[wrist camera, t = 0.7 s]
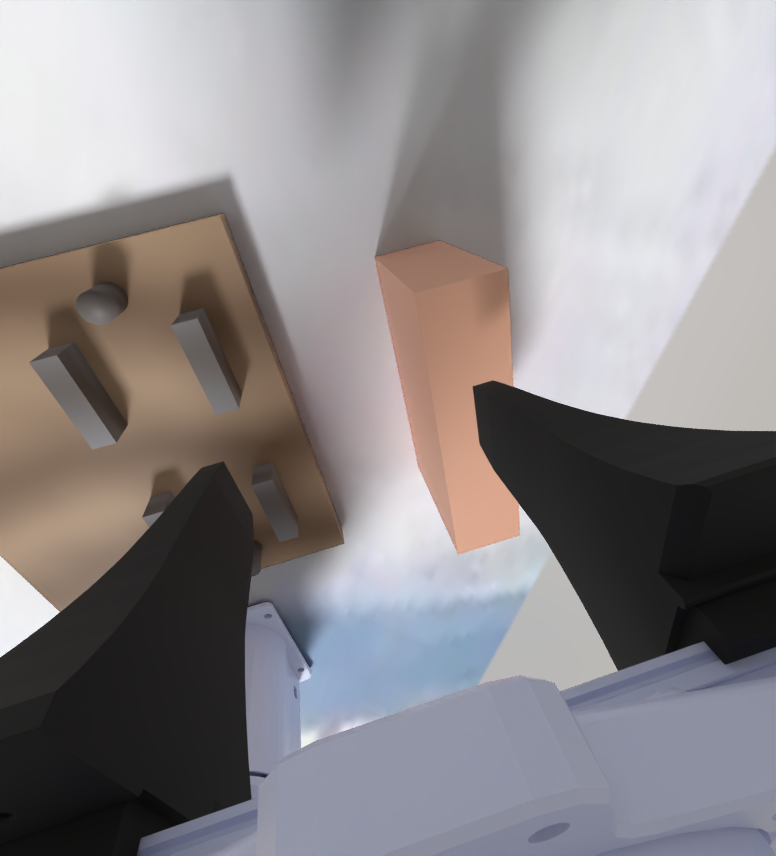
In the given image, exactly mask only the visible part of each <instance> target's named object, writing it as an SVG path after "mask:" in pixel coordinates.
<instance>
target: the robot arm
mask: <svg viewBox="0 0 776 856" xmlns="http://www.w3.org/2000/svg"><path fill="white" fill-rule="evenodd" d="M473 395H474V403H475V411H476V419H477V428H478V436H479V444H480V446H481V448H482V450H483V452H484V454H485V455H486V457H487V459H488V461H489V463H490V464H491V466H492V468H493V470H494V471H495V473H496V474H497V475H498V477H499V478H500V479H501V481H502V482H503V483H504V485H505V486H506V487H507V489H508V490H509V491H510V493H511V494H512V495H513V497H514V498H515V499H516V501H517V502H518V503H519V504H520V506H521V507H522V508H523V510H524V511H525V512H526V514H527V515H528V516H529V518H530V519H531V520H532V522H533V523H534V524H535V526H536V527H537V528H538V530H539V531H540V533H541V534H542V536H543V537H544V538H545V540H546V542H547V543H548V545H549V547H550V548H551V550H552V552H553V553H554V555H555V557H556V558H557V560H558V562H559V563H560V565H561V566H562V568H563V570H564V572H565V574H566V575H567V577H568V579H569V580H570V582H571V584H572V586H573V588H574V589H575V591H576V593H577V595H578V596H579V598H580V600H581V602H582V603H583V605H584V607H585V609H586V610H587V612H588V614H589V616H590V618H591V620H592V622H593V624H594V625H595V627H596V629H597V631H598V633H599V635H600V637H601V638H602V640H603V642H604V644H605V646H606V648H607V650H608V652H609V654H610V656H611V658H612V660H613V662H614V664H615V666H616V668H617V670H618V671H617V672H614V673H611V674H608V675H606V676H603V677H600V678H597V679H594V680H591V681H588V682H586V683H583V684H580V685H577V686H574V687H571V688H568V689H566V690H563V691H559V690H558V688H557V686H556V685H555V684H554V683H552V682H549V681H546V680H542V679H537V678H531V677H525V676H515V677H510V678H505V679H500V680H495V681H490V682H486V683H483V684H480V685H477V686H474V687H471V688H468V689H465V690H462V691H459V692H456V693H454V694H451V695H448V696H445V697H442V698H439V699H436V700H433V701H430V702H427V703H425V704H422V705H419V706H416V707H413V708H410V709H407V710H404V711H401V712H398V713H396V714H393V715H390V716H387V717H384V718H381V719H378V720H375V721H372V722H369V723H367V724H364V725H361V726H358V727H355V728H352V729H349V730H346V731H343V732H340V733H338V734H335V735H332V736H329V737H326V738H323V739H320V740H317V741H315V742H313V743H311V744H309V745H307V746H305V747H303V748H301V730H300V692H299V682H301V681H304V680H307V679H309V678H310V677H311V669H310V668H309V666H308V664H307V662H306V661H305V659H304V657H303V656H302V654H301V652H300V651H299V649H298V647H297V645H296V644H295V642H294V640H293V639H292V637H291V635H290V633H289V632H288V630H287V628H286V627H285V625H284V623H283V621H282V620H281V618H280V616H279V615H278V613H277V611H276V609H275V608H274V606H273V605H272V604H271V603H269V602H264V603H260V604H257V605H254V606H251V607H248V599H249V590H250V581H251V572H252V562H253V552H254V528H253V514H252V512H251V510H250V508H249V507H248V505H247V503H246V501H245V499H244V498H243V496H242V494H241V492H240V490H239V488H238V487H237V485H236V483H235V481H234V479H233V478H232V476H231V474H230V472H229V470H228V468H227V467H226V465H225V463H224V461H222V462H219V463H216V464H212V465H209V466H206V467H202V468H201V469H200V470H199V471H198V472H197V473H196V474H195V475H194V476H193V477H192V478H191V480H190V481H189V482H188V483H187V484H186V485H185V487H184V488H183V489H182V490H181V491H180V493H179V494H178V495H177V496H176V497H175V499H174V500H173V501H172V502H171V503H170V504H169V506H168V507H167V508H166V509H165V510H164V512H163V513H162V514H161V515H160V516H159V518H158V519H157V520H156V521H155V522H154V523H153V524H152V525H151V526H150V528H149V529H148V530H147V531H146V532H145V533H144V534H143V535H142V536H141V537H140V538H139V540H138V541H137V542H136V543H135V544H134V545H133V546H132V547H131V548H130V549H129V550H128V551H127V552H126V554H125V555H124V556H123V557H122V558H121V559H120V560H119V561H118V562H116V563H115V564H114V565H113V566H112V567H111V568H110V569H109V570H108V571H107V572H106V573H105V574H104V575H103V576H102V577H101V578H100V579H98V580H97V581H96V582H95V583H94V584H93V585H92V586H91V587H90V588H89V589H87V590H86V591H85V592H84V593H83V594H81V595H80V596H79V597H78V598H77V599H75V600H74V601H73V602H72V603H71V604H69V605H68V606H67V607H66V608H65V609H63V610H62V611H61V612H60V613H58V614H57V615H56V616H55V617H54V618H52V619H51V620H50V621H49V622H48V623H46V624H45V625H44V626H42V627H41V628H40V629H38V630H37V631H36V632H34V633H33V634H32V635H30V636H29V637H28V638H27V639H25V640H24V641H23V642H21V643H20V644H18V645H17V646H16V647H14V648H13V649H11V650H10V651H9V652H7V653H6V654H5V655H3V656H2V657H0V856H776V431H724V430H707V429H692V428H682V427H671V426H664V425H656V424H649V423H641V422H635V421H629V420H624V419H619V418H614V417H610V416H605V415H600V414H596V413H592V412H588V411H584V410H581V409H577V408H574V407H570V406H567V405H564V404H560V403H557V402H554V401H551V400H548V399H545V398H542V397H540V396H537V395H534V394H531V393H528V392H526V391H523V390H520V389H518V388H515V387H512V386H509V385H507V384H504V383H501V382H497V381H494V380H492V381H489V382H486V383H482V384H479V385H476V386H473Z"/></svg>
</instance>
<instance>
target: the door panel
mask: <svg viewBox="0 0 776 856" xmlns="http://www.w3.org/2000/svg"><path fill="white" fill-rule="evenodd" d="M375 261H376V266H377V271H378V276H379V281H380V285H381V290H382V295H383V300H384V305H385V309H386V314H387V319H388V324H389V329H390V333H391V338H392V343H393V348H394V352H395V357H396V362H397V367H398V372H399V376H400V381H401V386H402V391H403V396H404V400H405V405H406V410H407V415H408V420H409V424H410V429H411V434H412V439H413V444H414V448H415V453H416V458H417V463H418V467H419V469H420V472H421V474H422V476H423V478H424V480H425V483H426V485H427V487H428V489H429V491H430V494H431V496H432V498H433V500H434V502H435V505H436V507H437V509H438V511H439V513H440V516H441V518H442V520H443V522H444V524H445V527H446V529H447V531H448V533H449V535H450V538H451V540H452V542H453V544H454V546H455V549H456V551H457V553H458V554H461V553H465V552H468V551H471V550H474V549H477V548H481V547H484V546H487V545H490V544H493V543H497V542H500V541H503V540H506V539H509V538H513V537H516V536H519V535H520V526H519V503H518V502H517V501H516V499H515V498H514V497H513V495H512V494H511V493H510V491H509V490H508V489H507V487H506V486H505V485H504V483H503V482H502V481H501V479H500V478H499V477H498V475H497V474H496V473H495V471H494V470H493V468H492V466H491V464H490V463H489V461H488V459H487V457H486V455H485V454H484V452H483V450H482V448H481V446H480V444H479V436H478V428H477V419H476V411H475V403H474V395H473V386H476V385H479V384H482V383H486V382H489V381H492V380H494V381H497V382H501V383H504V384H507V385H509V386H512V387H513V370H512V347H511V325H510V303H509V281H508V268H505V267H503V266H500V265H498V264H496V263H493V262H491V261H488V260H486V259H484V258H481V257H479V256H476V255H474V254H471V253H469V252H467V251H464V250H462V249H459V248H457V247H454V246H452V245H450V244H447V243H445V242H442V241H440V240H438V241H435V242H431V243H427V244H423V245H419V246H415V247H412V248H408V249H404V250H400V251H396V252H392V253H388V254H385V255H381V256H377V257H375Z"/></svg>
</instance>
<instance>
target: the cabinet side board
mask: <svg viewBox="0 0 776 856" xmlns="http://www.w3.org/2000/svg"><path fill="white" fill-rule="evenodd" d="M222 461H224V463H225V465H226V467H227V468H228V470H229V472H230V474H231V476H232V478H233V479H234V481H235V483H236V485H237V487H238V488H239V490H240V492H241V494H242V496H243V498H244V499H245V501H246V503H247V505H248V507H249V508H250V510H251V512H252V514H253V528H254V552H253V562H252V572H251V576H255V575H257V574H258V573H259V572H260V570H261V569H262V568H266V567H269V566H272V565H276V564H279V563H282V562H285V561H289V560H292V559H295V558H298V557H302V556H305V555H308V554H312V553H315V552H318V551H321V550H325V549H328V548H331V547H334V546H338V545H341V544H344V538H343V532H342V528H341V525H340V523H339V520H338V517H337V515H336V512H335V509H334V506H333V504H332V501H331V498H330V496H329V493H328V490H327V488H326V485H325V482H324V480H323V477H322V474H321V472H320V469H319V466H318V464H317V461H316V458H315V456H314V453H313V450H312V448H311V445H310V442H309V440H308V437H307V434H306V432H305V429H304V426H303V424H302V421H301V418H300V416H299V413H298V410H297V408H296V405H295V402H294V400H293V397H292V394H291V392H290V389H289V386H288V384H287V381H286V378H285V376H284V373H283V370H282V368H281V365H280V362H279V360H278V357H277V354H276V352H275V349H274V346H273V344H272V341H271V338H270V336H269V333H268V330H267V328H266V325H265V322H264V319H263V317H262V314H261V311H260V309H259V306H258V303H257V301H256V298H255V295H254V293H253V290H252V287H251V285H250V282H249V279H248V277H247V274H246V271H245V269H244V266H243V263H242V261H241V258H240V255H239V253H238V250H237V247H236V245H235V242H234V239H233V237H232V234H231V231H230V229H229V226H228V223H227V221H226V218H225V215H224V213H221V214H217V215H213V216H209V217H205V218H201V219H197V220H193V221H189V222H185V223H181V224H177V225H173V226H169V227H165V228H161V229H157V230H152V231H148V232H144V233H140V234H136V235H132V236H128V237H124V238H120V239H116V240H112V241H108V242H104V243H100V244H96V245H92V246H88V247H84V248H79V249H75V250H71V251H67V252H63V253H59V254H55V255H51V256H47V257H43V258H39V259H35V260H31V261H27V262H23V263H19V264H15V265H11V266H6V267H2V268H0V556H1V557H2V558H3V559H4V560H5V561H7V562H8V563H9V564H10V565H11V566H12V567H13V568H14V569H15V570H16V571H17V572H18V573H19V574H20V575H21V576H22V577H24V578H25V579H26V580H27V581H28V582H29V583H30V584H31V585H32V586H33V587H34V588H35V589H36V590H37V591H38V592H39V593H40V594H42V595H43V596H44V597H45V598H46V599H47V600H48V601H49V602H50V603H51V604H52V605H53V606H54V607H55V608H56V609H57V610H58V611H60V612H61V611H62V610H63V609H65V608H66V607H67V606H68V605H69V604H71V603H72V602H73V601H74V600H75V599H77V598H78V597H79V596H80V595H81V594H83V593H84V592H85V591H86V590H87V589H89V588H90V587H91V586H92V585H93V584H94V583H95V582H96V581H97V580H98V579H100V578H101V577H102V576H103V575H104V574H105V573H106V572H107V571H108V570H109V569H110V568H111V567H112V566H113V565H114V564H115V563H116V562H118V561H119V560H120V559H121V558H122V557H123V556H124V555H125V554H126V552H127V551H128V550H129V549H130V548H131V547H132V546H133V545H134V544H135V543H136V542H137V541H138V540H139V538H140V537H141V536H142V535H143V534H144V533H145V532H146V531H147V530H148V529H149V528H150V526H151V525H152V524H153V523H154V522H155V521H156V520H157V519H158V518H159V516H160V515H161V514H162V513H163V512H164V510H165V509H166V508H167V507H168V506H169V504H170V503H171V502H172V501H173V500H174V499H175V497H176V496H177V495H178V494H179V493H180V491H181V490H182V489H183V488H184V487H185V485H186V484H187V483H188V482H189V481H190V480H191V478H192V477H193V476H194V475H195V474H196V473H197V472H198V471H199V470H200V469H201V468H202V467H206V466H209V465H212V464H216V463H219V462H222Z"/></svg>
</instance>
